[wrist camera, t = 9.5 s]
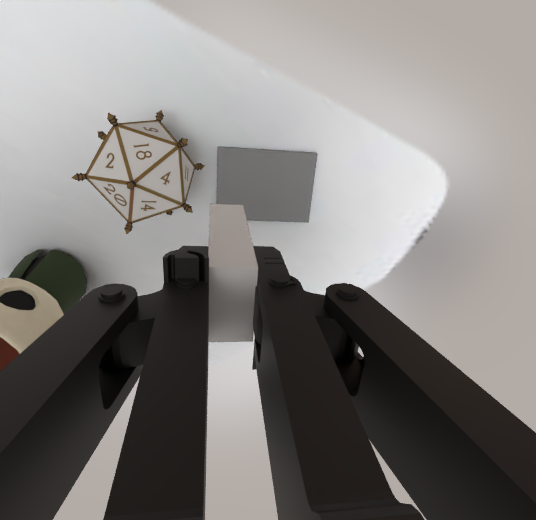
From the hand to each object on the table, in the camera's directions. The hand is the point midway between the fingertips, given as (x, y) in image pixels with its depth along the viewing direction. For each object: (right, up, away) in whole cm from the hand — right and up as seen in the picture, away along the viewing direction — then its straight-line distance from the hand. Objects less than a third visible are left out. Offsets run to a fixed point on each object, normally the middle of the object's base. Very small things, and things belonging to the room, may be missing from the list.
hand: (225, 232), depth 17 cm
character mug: (-19, -3, +19) cm, 27 cm away
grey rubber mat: (+2, +6, +17) cm, 18 cm away
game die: (-8, +8, +15) cm, 19 cm away
